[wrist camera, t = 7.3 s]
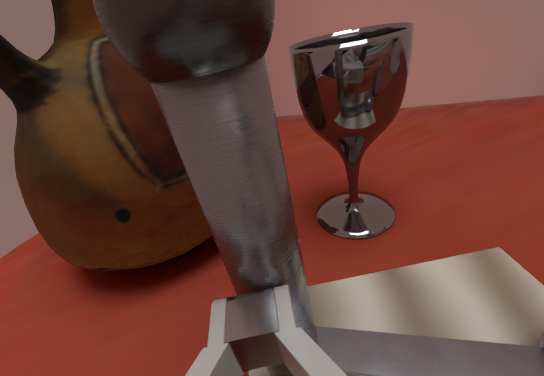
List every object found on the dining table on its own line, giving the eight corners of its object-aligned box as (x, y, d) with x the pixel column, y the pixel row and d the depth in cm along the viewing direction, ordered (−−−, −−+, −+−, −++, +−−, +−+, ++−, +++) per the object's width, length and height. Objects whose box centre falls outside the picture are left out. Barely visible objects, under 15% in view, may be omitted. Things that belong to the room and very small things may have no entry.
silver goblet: (381, 255, 21) (388, 39, 13) (296, 226, 26) (264, 54, 18) (411, 199, 26) (429, 16, 18) (335, 183, 31) (323, 33, 23)
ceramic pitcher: (290, 179, 34) (219, -209, 18) (183, 332, 19) (-706, -1052, 3) (173, 171, 42) (58, -94, 27) (39, 271, 28) (-388, -185, 12)
